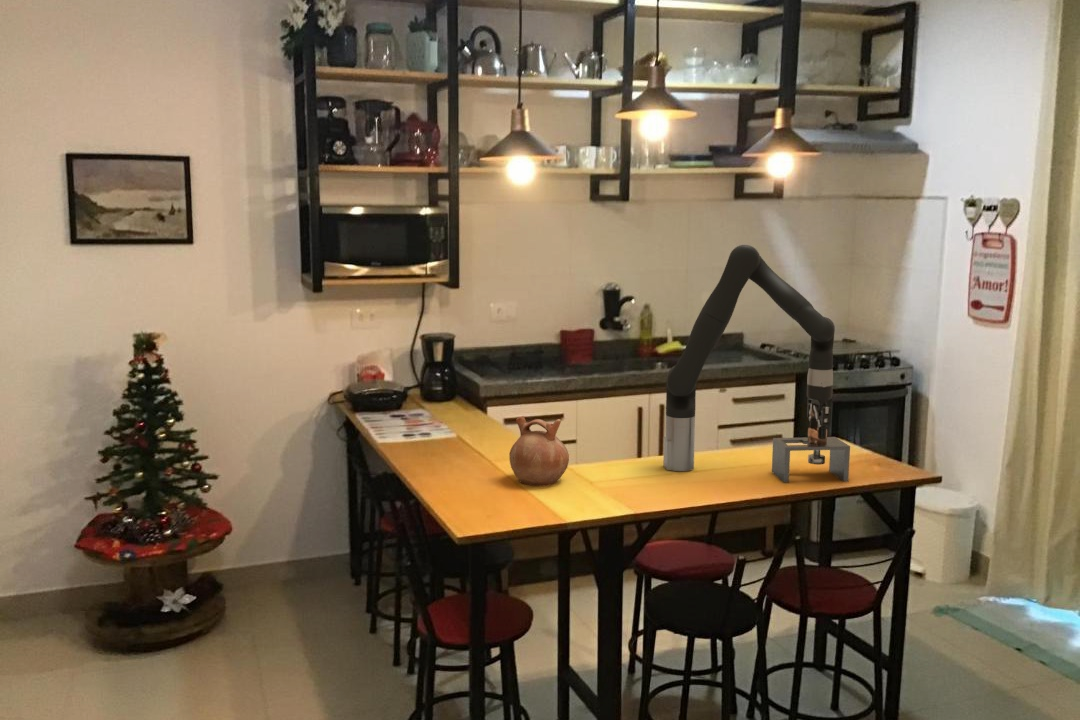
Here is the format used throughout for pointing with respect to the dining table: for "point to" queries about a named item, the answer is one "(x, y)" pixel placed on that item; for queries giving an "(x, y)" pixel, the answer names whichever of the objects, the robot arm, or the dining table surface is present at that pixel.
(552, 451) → the jug
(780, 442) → the keyhole bridge
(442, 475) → the dining table surface
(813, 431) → the keyhole peg
